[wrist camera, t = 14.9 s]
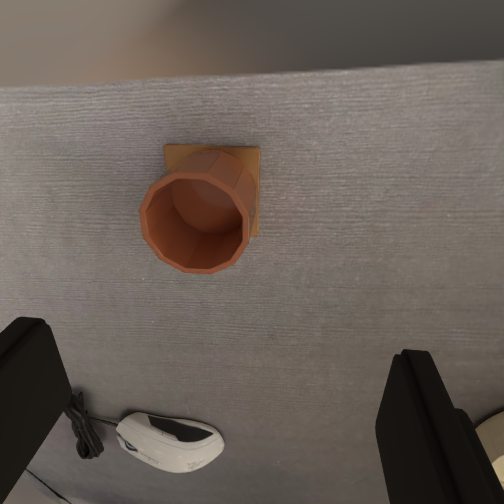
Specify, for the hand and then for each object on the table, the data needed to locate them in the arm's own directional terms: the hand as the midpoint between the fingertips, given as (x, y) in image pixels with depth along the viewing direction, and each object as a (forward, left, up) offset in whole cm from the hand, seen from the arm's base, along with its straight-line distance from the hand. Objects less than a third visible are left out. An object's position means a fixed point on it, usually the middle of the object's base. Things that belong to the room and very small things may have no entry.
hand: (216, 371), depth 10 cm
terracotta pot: (+4, +2, -19) cm, 19 cm away
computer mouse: (+13, +31, -20) cm, 39 cm away
